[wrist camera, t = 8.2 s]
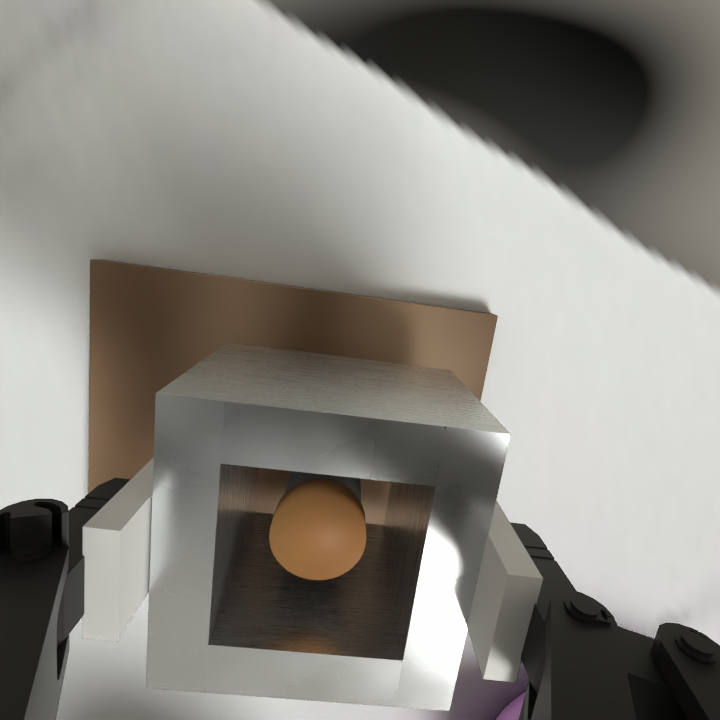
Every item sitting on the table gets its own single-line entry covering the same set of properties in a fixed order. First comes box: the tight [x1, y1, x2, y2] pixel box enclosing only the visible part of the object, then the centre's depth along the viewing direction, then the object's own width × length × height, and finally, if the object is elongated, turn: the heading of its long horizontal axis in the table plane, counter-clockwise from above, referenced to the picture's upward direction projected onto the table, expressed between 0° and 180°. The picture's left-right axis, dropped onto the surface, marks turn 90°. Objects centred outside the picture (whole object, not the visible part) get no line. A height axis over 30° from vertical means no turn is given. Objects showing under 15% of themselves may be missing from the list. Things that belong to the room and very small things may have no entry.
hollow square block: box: [146, 343, 511, 711], centre depth 14 cm, size 8×8×6 cm
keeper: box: [89, 260, 498, 580], centre depth 16 cm, size 16×12×8 cm
